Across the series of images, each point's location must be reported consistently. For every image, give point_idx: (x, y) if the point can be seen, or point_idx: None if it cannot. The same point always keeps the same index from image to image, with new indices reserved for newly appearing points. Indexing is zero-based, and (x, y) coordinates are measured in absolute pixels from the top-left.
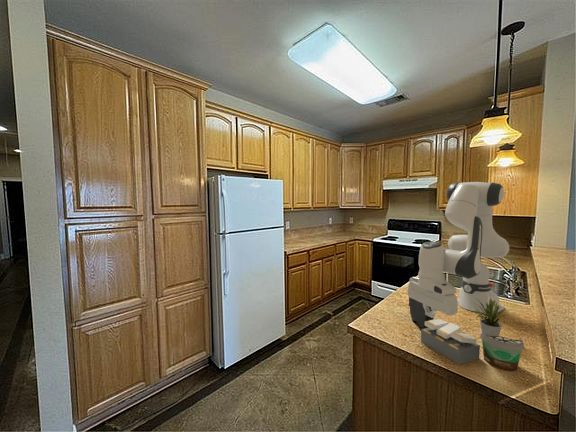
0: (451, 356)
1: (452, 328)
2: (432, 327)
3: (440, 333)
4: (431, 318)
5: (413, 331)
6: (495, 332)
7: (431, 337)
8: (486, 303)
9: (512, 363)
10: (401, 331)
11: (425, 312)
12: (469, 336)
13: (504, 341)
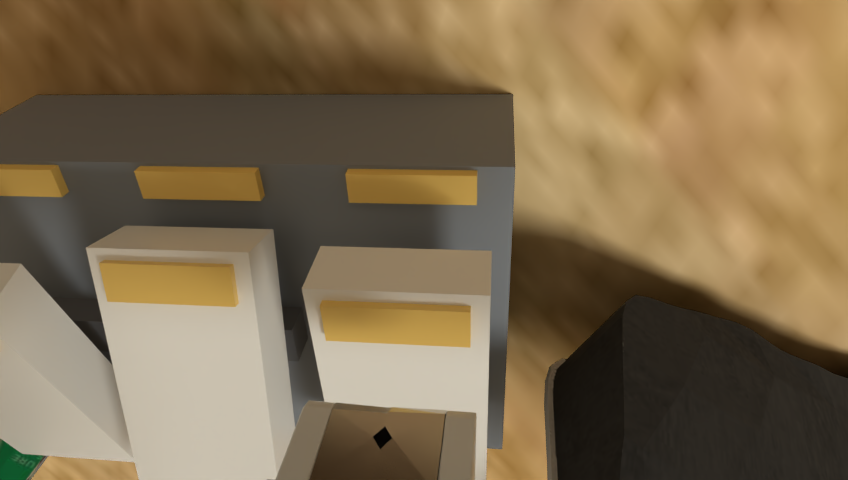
0: (90, 109)
1: (175, 433)
2: (329, 268)
3: (186, 244)
4: (572, 466)
5: (724, 196)
6: None
7: (325, 148)
8: None
9: None
10: (836, 42)
11: (465, 455)
12: (55, 442)
13: None
